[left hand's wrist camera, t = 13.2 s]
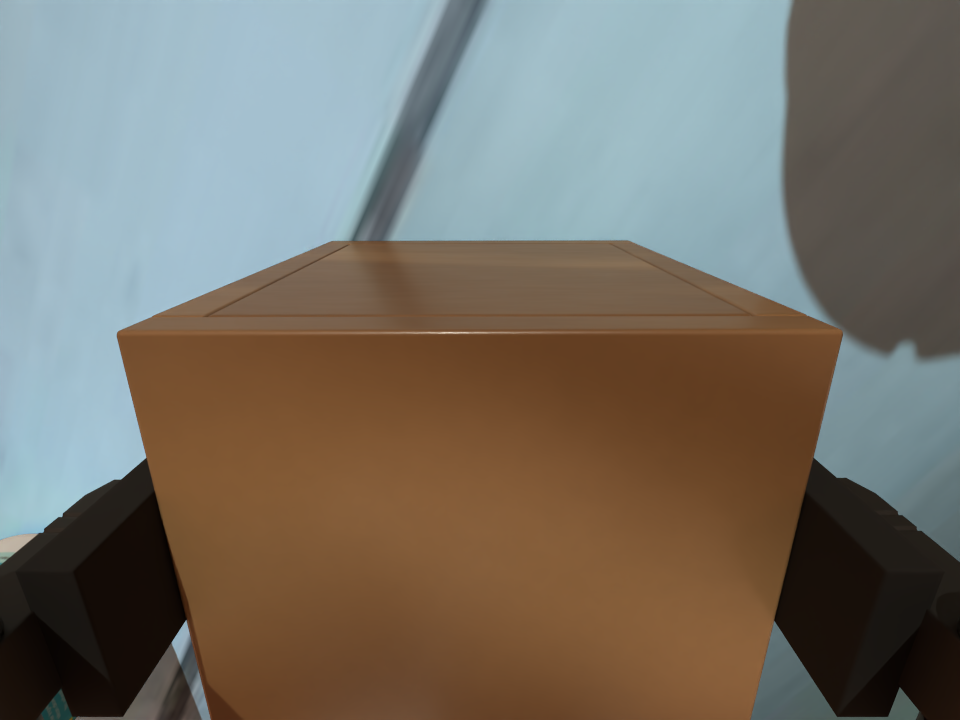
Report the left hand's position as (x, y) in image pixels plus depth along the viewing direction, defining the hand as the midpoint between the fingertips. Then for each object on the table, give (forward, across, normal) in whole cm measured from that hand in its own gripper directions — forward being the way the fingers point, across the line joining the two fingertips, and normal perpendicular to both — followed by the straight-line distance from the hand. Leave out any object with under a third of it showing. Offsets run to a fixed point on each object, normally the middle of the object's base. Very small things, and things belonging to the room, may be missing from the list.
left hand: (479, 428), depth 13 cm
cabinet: (+6, 0, -5) cm, 8 cm away
